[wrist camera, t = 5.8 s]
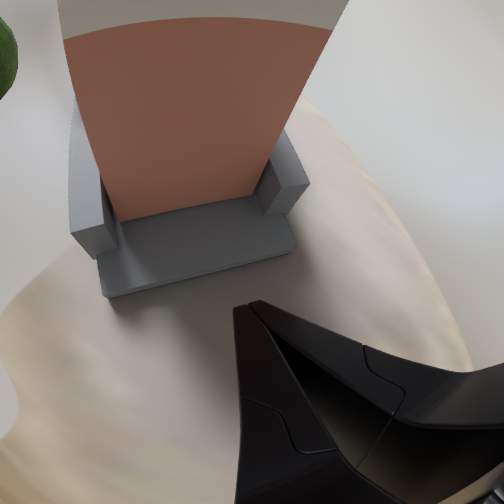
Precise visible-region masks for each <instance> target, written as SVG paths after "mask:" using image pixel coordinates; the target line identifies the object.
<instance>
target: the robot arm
mask: <svg viewBox="0 0 504 504" xmlns="http://www.w3.org/2000/svg"><path fill="white" fill-rule="evenodd" d="M233 325H234V340H235V355H236V369H237V382H238V395H239V409H240V448H239V460H238V471H237V482H236V493H235V502H234V504H504V363H501V364H498V365H495V366H492V367H488V368H485V369H482V370H478V371H473V372H453V371H448V370H444V369H440V368H436V367H432V366H428V365H425V364H421V363H417V362H413V361H410V360H406V359H403V358H400V357H397V356H393V355H391V354H388V353H385V352H382V351H380V350H377V349H374V348H372V347H369V346H367V345H362V343H359V342H357V341H354V340H352V339H350V338H347V337H345V336H342V335H340V334H338V333H335V332H333V331H330V330H328V329H326V328H323V327H321V326H319V325H316V324H314V323H312V322H309V321H307V320H305V319H303V318H300V317H298V316H296V315H293V314H291V313H289V312H287V311H284V310H282V309H280V308H278V307H275V306H273V305H271V304H269V303H267V302H264V301H262V300H257V301H254V302H251V303H248V304H247V305H245V304H244V305H241V306H237V307H234V308H233Z"/></svg>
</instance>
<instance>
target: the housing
mask: <svg viewBox="0 0 504 504" xmlns="http://www.w3.org/2000/svg"><path fill="white" fill-rule="evenodd" d="M68 183H69V184H68V185H69V188H68V190H69V220H70V221H69V222H70V233H71V234H72V235H73V237H74V238H75V239H76V240H77V241H78V243H79V244H80V245H81V246H82V247H83V248H84V250H85V251H86V252H87V253H88V254H89V255H90V256H91V258H92V259H93V260H94V259H97V264H98V271H99V277H100V282H101V288H102V293H103V296H105V297H106V298H108V299H109V298H114V297H118V296H122V295H126V294H130V293H134V292H138V291H142V290H146V289H150V288H154V287H158V286H162V285H166V284H170V283H174V282H178V281H182V280H186V279H190V278H194V277H198V276H202V275H206V274H210V273H214V272H218V271H222V270H225V269H229V268H233V267H237V266H241V265H245V264H249V263H253V262H257V261H260V260H264V259H268V258H272V257H276V256H280V255H283V254H287V253H290V252H291V251H292V250H294V249H295V248H296V247H297V246H296V244H295V241H294V238H293V236H292V233H291V230H290V228H289V225H288V223H287V220H286V217H285V216H286V215H287V213H288V212H289V211H290V209H291V208H292V207H293V205H294V204H295V203H296V202H297V200H298V199H299V198H300V196H301V195H302V194H303V192H304V191H305V190H306V188H307V187H308V186H309V185H310V182H309V179H308V177H307V175H306V173H305V171H304V169H303V166H302V164H301V162H300V160H299V158H298V156H297V154H296V152H295V150H294V148H293V146H292V144H291V142H290V140H289V138H288V136H287V134H286V132H285V130H284V129H283V131H282V133H281V135H280V137H279V139H278V141H277V143H276V145H275V147H274V149H273V151H272V153H271V155H270V157H269V160H268V162H267V164H266V166H265V168H264V170H263V172H262V174H261V176H260V179H259V181H258V183H257V185H256V187H255V189H254V191H253V193H252V195H250V196H244V197H239V198H233V199H228V200H222V201H217V202H212V203H207V204H202V205H197V206H192V207H187V208H182V209H178V210H173V211H168V212H164V213H159V214H155V215H150V216H146V217H142V218H138V219H133V220H129V221H125V222H121V223H120V222H119V220H118V218H117V215H116V213H115V210H114V208H113V206H112V203H111V201H110V198H109V196H108V193H107V191H106V188H105V185H104V183H103V180H102V178H101V175H100V172H99V169H98V167H97V164H96V161H95V158H94V155H93V152H92V149H91V146H90V143H89V140H88V137H87V134H86V131H85V128H84V124H83V121H82V118H81V114H80V111H79V107H78V104H77V100H76V96H75V99H74V107H73V115H72V124H71V135H70V150H69V182H68Z"/></svg>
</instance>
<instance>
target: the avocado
mask: <svg viewBox="0 0 504 504" xmlns="http://www.w3.org/2000/svg"><path fill="white" fill-rule="evenodd" d="M17 52H18V51H17V43H16V41H15V38H14V35H13V33H12V30H11V29H10V28H9V26H8V25H7V24H6V23H5V22H4V21H3V20H2V18H1V17H0V100H1V99H2V97H3V96H4V95H5V94H6V93H7V91H8V90H9V89H10V88H11V86H12V84H13V82H14V80H15V77H16V73H17V69H18V53H17Z"/></svg>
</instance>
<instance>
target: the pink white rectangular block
mask: <svg viewBox="0 0 504 504" xmlns="http://www.w3.org/2000/svg"><path fill="white" fill-rule="evenodd" d="M57 2H58V11H59V18H60V24H61V31H62V37H63V43H64V48H65V53H66V58H67V62H68V67H69V72H70V75H71V80H72V84H73V89H74V92H75V96H76V100H77V104H78V107H79V111H80V114H81V118H82V121H83V124H84V128H85V131H86V134H87V137H88V140H89V143H90V146H91V149H92V152H93V155H94V158H95V161H96V164H97V167H98V169H99V172H100V175H101V178H102V180H103V183H104V185H105V188H106V191H107V193H108V196H109V198H110V201H111V203H112V206H113V208H114V210H115V213H116V215H117V218H118V220H119V222H120V223H121V222H125V221H129V220H133V219H138V218H142V217H146V216H150V215H155V214H159V213H164V212H168V211H173V210H178V209H182V208H187V207H192V206H197V205H202V204H207V203H212V202H217V201H222V200H228V199H233V198H239V197H244V196H250V195H252V193H253V191H254V189H255V187H256V185H257V183H258V181H259V179H260V176H261V174H262V172H263V170H264V168H265V166H266V164H267V162H268V160H269V157H270V155H271V153H272V151H273V149H274V147H275V145H276V143H277V141H278V139H279V137H280V135H281V133H282V131H283V129H284V126H285V124H286V122H287V120H288V118H289V116H290V114H291V112H292V110H293V108H294V106H295V104H296V102H297V100H298V98H299V96H300V94H301V92H302V90H303V88H304V86H305V84H306V82H307V80H308V78H309V76H310V74H311V72H312V70H313V68H314V66H315V64H316V62H317V61H318V59H319V56H320V55H321V53H322V51H323V49H324V47H325V45H326V43H327V41H328V39H329V37H330V35H331V34H332V32H333V30H334V28H335V26H336V24H337V22H338V20H339V18H340V16H341V15H342V13H343V11H344V9H345V7H346V5H347V4H348V2H349V0H57Z"/></svg>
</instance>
